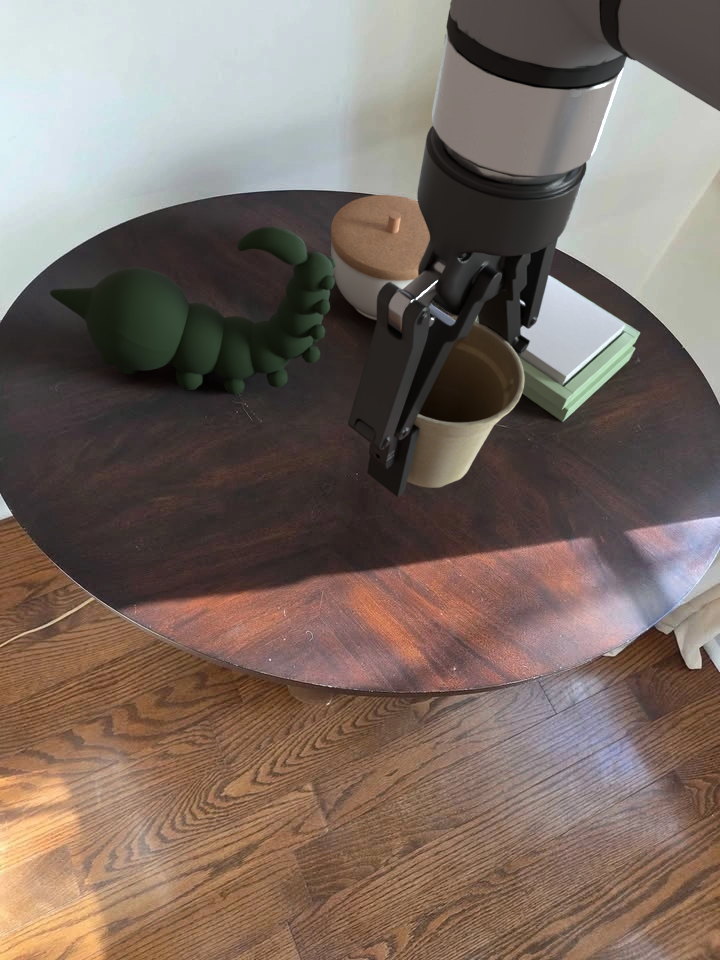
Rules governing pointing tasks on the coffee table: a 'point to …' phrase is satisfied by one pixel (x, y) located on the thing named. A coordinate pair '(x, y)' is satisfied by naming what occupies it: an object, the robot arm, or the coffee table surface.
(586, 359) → the pan
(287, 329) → the toy figurine
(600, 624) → the coffee table surface
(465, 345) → the flower pot
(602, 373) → the scale
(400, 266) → the lidded bowl
